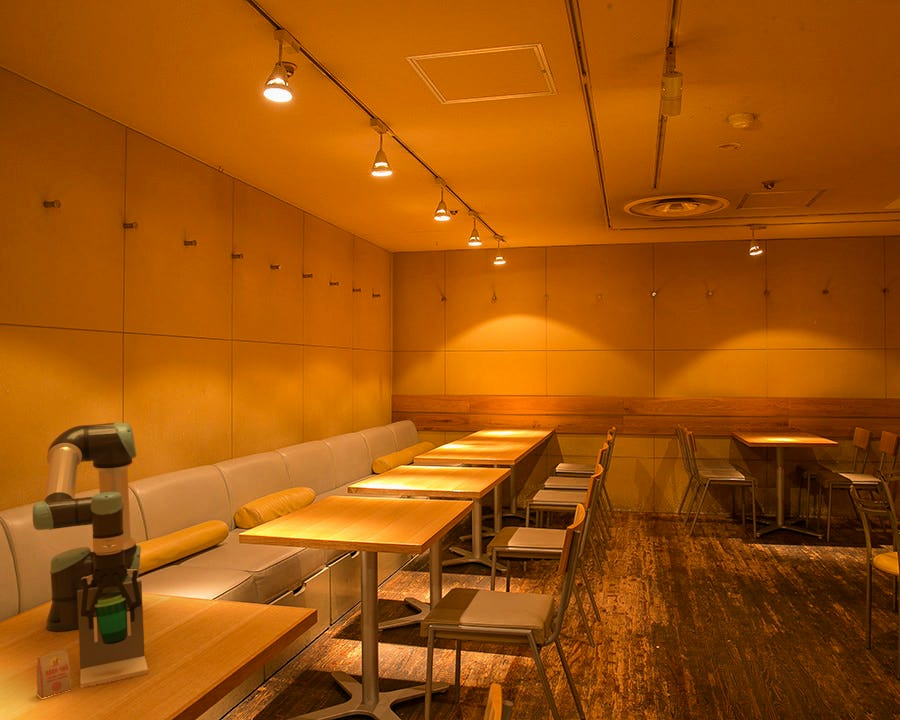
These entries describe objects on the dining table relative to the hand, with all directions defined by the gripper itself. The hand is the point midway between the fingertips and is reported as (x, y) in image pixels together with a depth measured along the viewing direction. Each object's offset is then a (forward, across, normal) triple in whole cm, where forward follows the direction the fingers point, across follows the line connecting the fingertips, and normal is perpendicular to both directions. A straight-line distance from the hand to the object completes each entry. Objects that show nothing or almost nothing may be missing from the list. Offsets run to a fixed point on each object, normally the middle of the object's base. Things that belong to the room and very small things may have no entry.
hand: (112, 637), depth 194 cm
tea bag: (+10, -14, -3) cm, 18 cm away
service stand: (+10, 0, +2) cm, 10 cm away
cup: (+1, 0, 0) cm, 1 cm away
